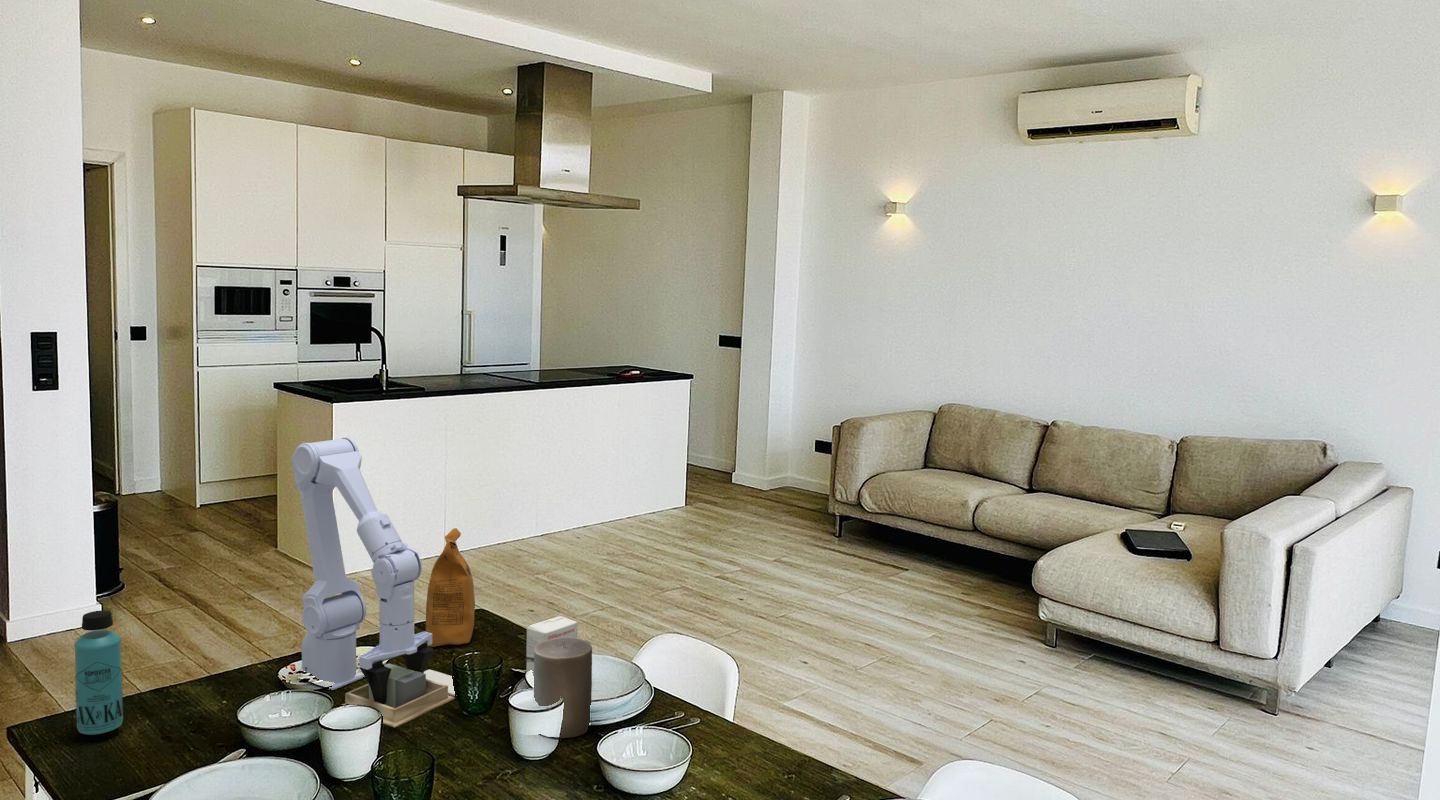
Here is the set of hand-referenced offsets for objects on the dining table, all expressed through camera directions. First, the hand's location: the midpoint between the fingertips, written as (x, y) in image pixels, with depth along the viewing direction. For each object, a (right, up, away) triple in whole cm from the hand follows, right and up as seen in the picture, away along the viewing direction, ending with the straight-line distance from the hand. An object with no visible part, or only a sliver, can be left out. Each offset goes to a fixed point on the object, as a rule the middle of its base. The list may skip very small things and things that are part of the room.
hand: (397, 695), depth 173 cm
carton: (0, -1, 0) cm, 1 cm away
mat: (+5, 0, +9) cm, 11 cm away
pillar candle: (+30, -4, -6) cm, 30 cm away
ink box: (+25, -1, +10) cm, 27 cm away
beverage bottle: (-42, -2, -15) cm, 45 cm away
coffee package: (+1, +2, +32) cm, 32 cm away
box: (0, -1, 0) cm, 1 cm away
